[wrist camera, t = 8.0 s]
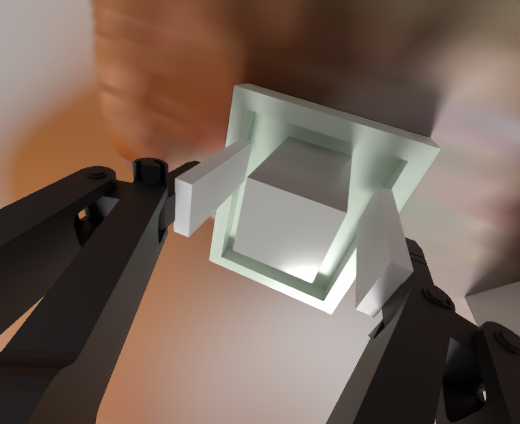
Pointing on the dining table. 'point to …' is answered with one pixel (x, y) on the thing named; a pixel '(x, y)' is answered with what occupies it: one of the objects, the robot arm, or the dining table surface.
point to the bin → (360, 191)
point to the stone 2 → (497, 306)
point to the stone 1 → (294, 207)
